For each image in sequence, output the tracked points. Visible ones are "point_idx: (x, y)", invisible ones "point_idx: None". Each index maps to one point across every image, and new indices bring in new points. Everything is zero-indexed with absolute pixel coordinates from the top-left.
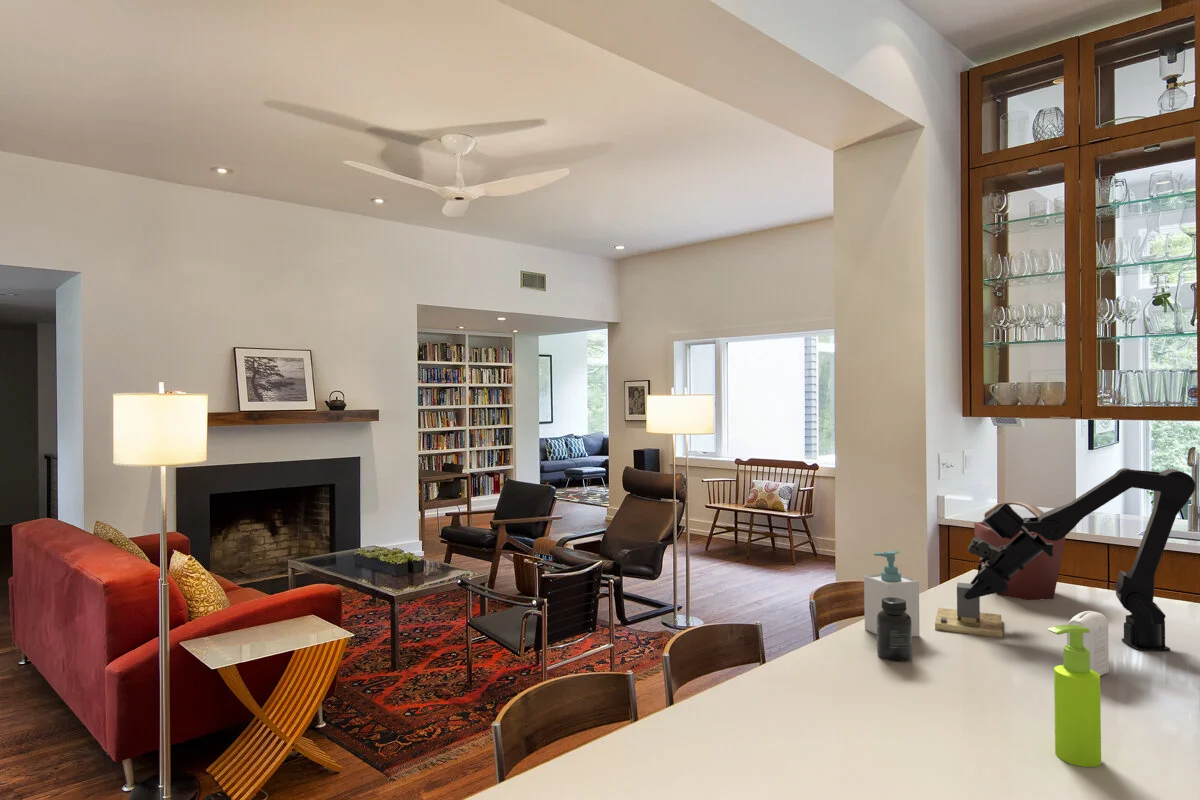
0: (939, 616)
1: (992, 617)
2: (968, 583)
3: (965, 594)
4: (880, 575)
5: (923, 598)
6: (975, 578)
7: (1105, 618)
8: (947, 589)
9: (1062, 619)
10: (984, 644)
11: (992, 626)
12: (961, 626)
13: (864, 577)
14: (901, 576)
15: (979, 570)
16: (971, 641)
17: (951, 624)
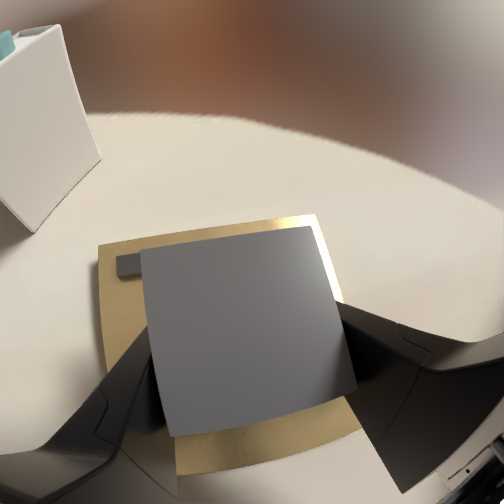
0: (196, 239)
1: (317, 415)
2: (335, 306)
3: (145, 329)
4: (37, 31)
5: (412, 174)
6: (388, 353)
7: None
8: (487, 213)
9: (445, 494)
10: (42, 412)
11: (175, 445)
12: (103, 337)
13: (20, 35)
14: (18, 53)
15: (466, 382)
16: (46, 376)
17: (106, 300)
